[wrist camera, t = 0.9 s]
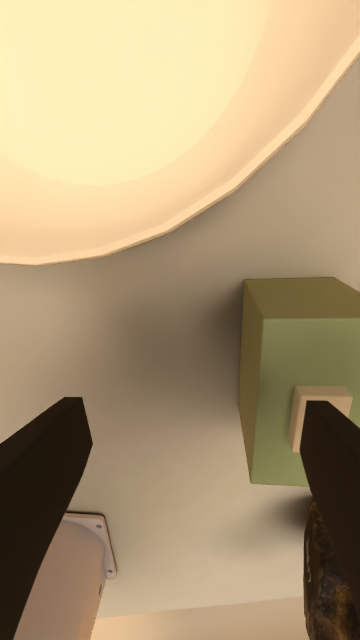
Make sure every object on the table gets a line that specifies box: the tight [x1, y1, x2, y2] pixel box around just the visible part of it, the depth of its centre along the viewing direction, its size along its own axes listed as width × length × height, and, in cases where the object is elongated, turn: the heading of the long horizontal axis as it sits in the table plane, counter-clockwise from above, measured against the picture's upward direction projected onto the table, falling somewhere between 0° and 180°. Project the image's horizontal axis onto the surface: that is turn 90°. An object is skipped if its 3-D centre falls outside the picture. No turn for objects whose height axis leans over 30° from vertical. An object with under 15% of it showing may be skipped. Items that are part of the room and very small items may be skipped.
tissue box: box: [238, 277, 360, 487], centre depth 15 cm, size 9×5×7 cm, turn 3°
